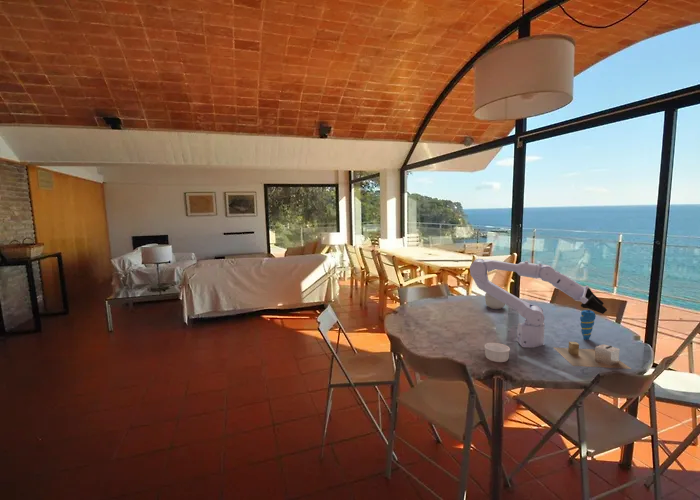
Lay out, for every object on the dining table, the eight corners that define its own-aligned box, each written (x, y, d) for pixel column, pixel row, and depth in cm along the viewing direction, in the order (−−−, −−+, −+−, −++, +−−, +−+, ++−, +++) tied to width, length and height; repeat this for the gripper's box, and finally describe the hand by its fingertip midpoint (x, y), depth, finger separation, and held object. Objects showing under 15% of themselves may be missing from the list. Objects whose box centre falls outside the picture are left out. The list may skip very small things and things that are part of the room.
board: (572, 369, 116) (573, 354, 116) (552, 351, 132) (553, 337, 131) (631, 373, 113) (632, 357, 113) (604, 353, 129) (605, 339, 128)
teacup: (508, 310, 187) (509, 296, 186) (489, 310, 187) (489, 296, 186) (498, 303, 201) (498, 290, 200) (479, 303, 201) (480, 290, 200)
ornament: (579, 339, 144) (581, 304, 142) (594, 342, 140) (596, 306, 139) (577, 343, 140) (580, 307, 138) (593, 345, 136) (595, 309, 135)
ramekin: (481, 359, 126) (481, 348, 125) (486, 351, 133) (487, 340, 133) (507, 365, 121) (507, 353, 120) (511, 356, 128) (511, 345, 128)
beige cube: (610, 365, 116) (611, 350, 115) (594, 360, 120) (595, 345, 119) (618, 362, 118) (619, 348, 117) (602, 357, 122) (603, 343, 122)
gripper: (577, 283, 123) (615, 306, 119) (574, 274, 136) (607, 294, 131) (564, 297, 126) (600, 321, 122) (562, 287, 138) (594, 308, 134)
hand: (603, 308), depth 127 cm, fingers open, 7 cm apart
